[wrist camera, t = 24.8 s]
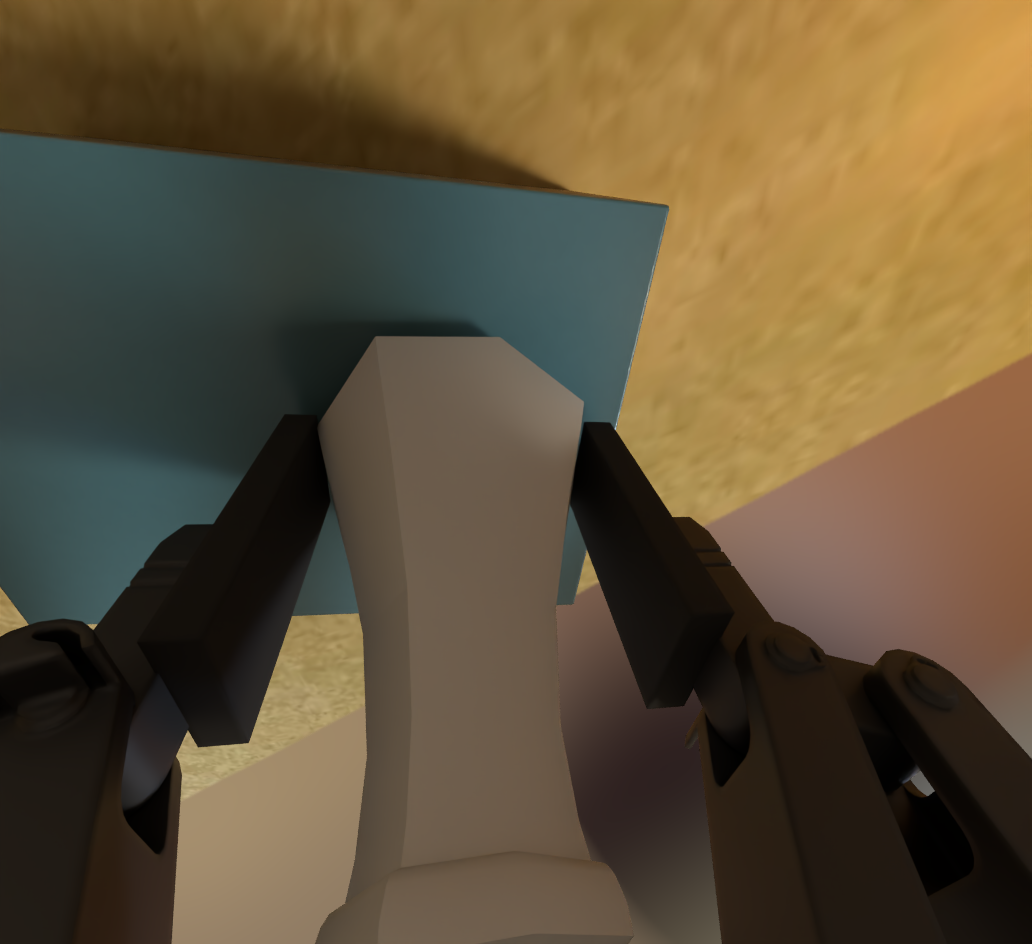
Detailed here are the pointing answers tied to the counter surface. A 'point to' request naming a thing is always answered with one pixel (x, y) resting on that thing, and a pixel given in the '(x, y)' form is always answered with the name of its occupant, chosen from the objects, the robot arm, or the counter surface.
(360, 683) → the counter surface
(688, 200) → the counter surface
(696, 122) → the counter surface
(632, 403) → the counter surface
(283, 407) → the lid
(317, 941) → the flask
